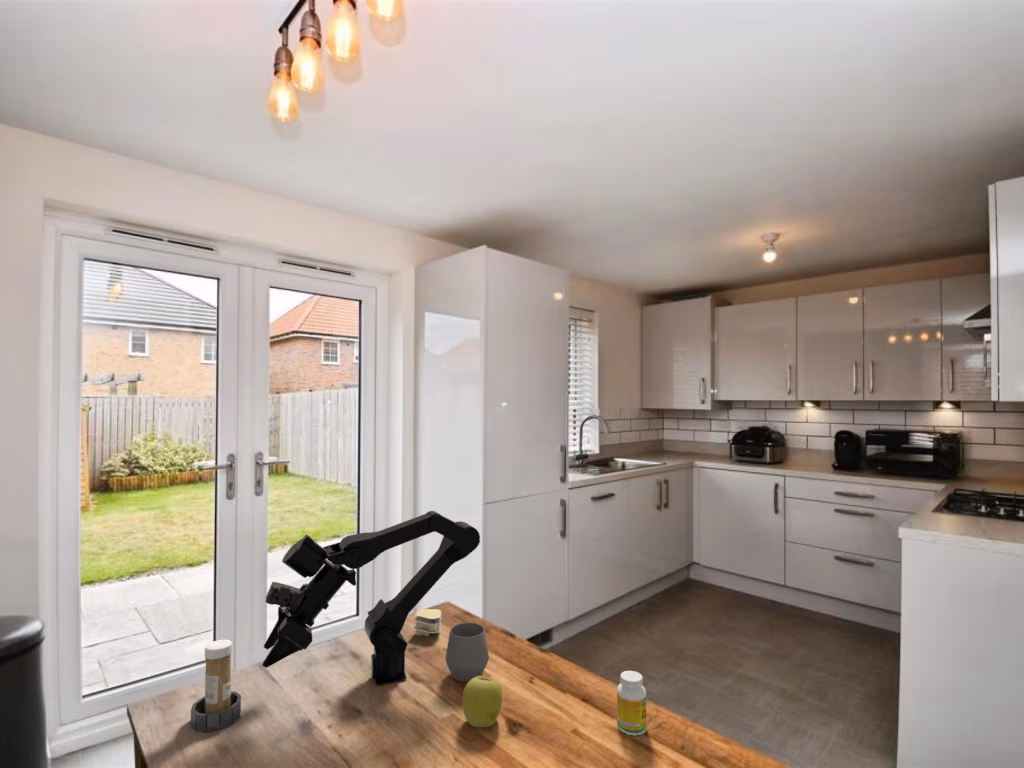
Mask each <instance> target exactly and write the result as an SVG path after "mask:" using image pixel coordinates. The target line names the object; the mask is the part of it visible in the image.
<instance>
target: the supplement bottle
mask: <svg viewBox="0 0 1024 768" xmlns="http://www.w3.org/2000/svg"><path fill="white" fill-rule="evenodd" d="M619 682H620V683H619V684H618V686H617V688H616V726H617V729H618V730H619V729H620V730H621V731H622V733H623V732H624V733H626V734H628V735H627V736H630V735H633V736H632V737H638V736H637V735H639V736H642V735H643V734H645V732H646V731H647V690H646V688H645V687H644V686H643V684H644V679H643V675H642V674H641V673H640V672H638V671H634V670H625V671H622V672H621V673H620V679H619ZM620 730H619V731H620ZM621 731H620V732H621ZM624 733H623V734H624ZM626 734H625V735H626ZM635 735H636V736H635Z"/></svg>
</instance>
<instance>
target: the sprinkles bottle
mask: <svg viewBox="0 0 1024 768" xmlns="http://www.w3.org/2000/svg"><path fill="white" fill-rule="evenodd" d="M232 652H233V642H232V641H231V640H229V639H219V640H214V641H212V642H209V643H208V644H207V645H205V647H204V659H205V675H204V677H205V678H204V680H205V681H204V693H205V694H204V697H205V701H206V713H205V714H211V713H216V712H221V711H223V710H225V709H227V708H230V707H231V691H232V669H231V668H232V667H231V665H232V662H231V659H232V657H231V656H232Z"/></svg>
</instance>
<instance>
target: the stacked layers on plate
mask: <svg viewBox="0 0 1024 768" xmlns="http://www.w3.org/2000/svg"><path fill="white" fill-rule="evenodd" d="M414 616H416V618H415V619H414V622H415V626H414V628H413V629H414V630H415V635H416V636H422V635H426V636H425V637H430V634H437V633H438V634H439V632H441V631H442V630H441V629H442V623H441V622H442V610H440V609H438V608H437V609H434V608H419V609H418V610H417V611H416V613H414Z"/></svg>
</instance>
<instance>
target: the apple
mask: <svg viewBox="0 0 1024 768" xmlns="http://www.w3.org/2000/svg"><path fill="white" fill-rule="evenodd" d="M477 672H478V671H477ZM478 673H479V672H478ZM479 674H480V673H479ZM466 683H467V684H465V687H464V689H463V692H462V698H461V700H462V710H463V715H464V717H465V720H467V722H468V723H469V724H470V725H471V727H474V728H490V727H492V726H493V725H494V724H495V723H496V721H497V719H498V717H499V715H500V712H501V709H502V704H503V703H502V702H503V691H502V687H501V685H500V684H499V683H498V681H496V680H493V679H491V678H489V677H487V676H483V675H480V676H477V677H474V678H472V679H471V680H470V681H469V682H466Z"/></svg>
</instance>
